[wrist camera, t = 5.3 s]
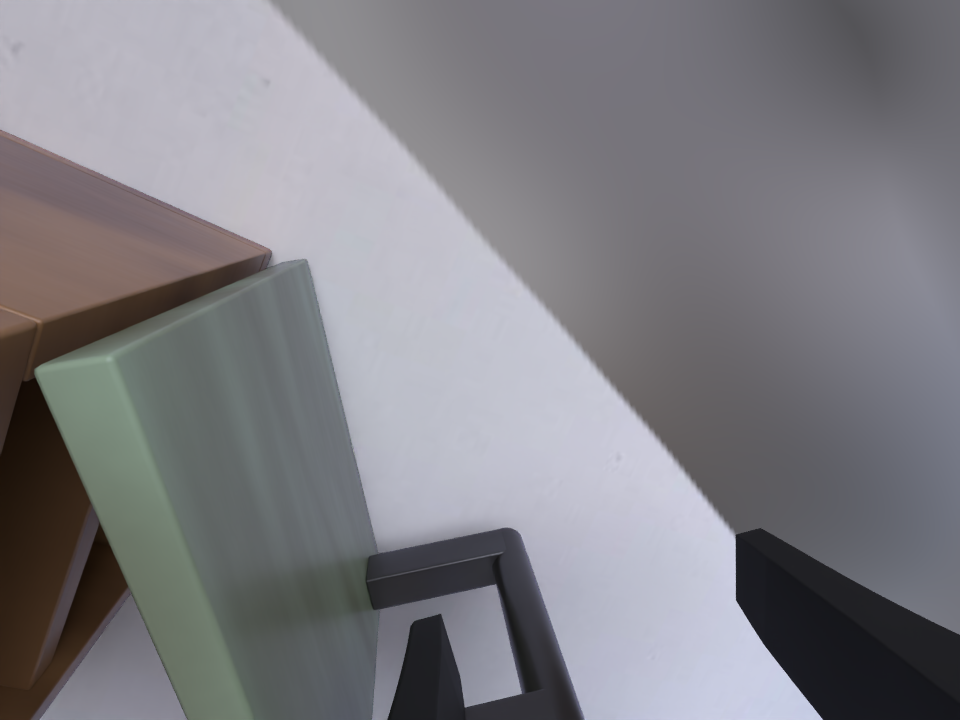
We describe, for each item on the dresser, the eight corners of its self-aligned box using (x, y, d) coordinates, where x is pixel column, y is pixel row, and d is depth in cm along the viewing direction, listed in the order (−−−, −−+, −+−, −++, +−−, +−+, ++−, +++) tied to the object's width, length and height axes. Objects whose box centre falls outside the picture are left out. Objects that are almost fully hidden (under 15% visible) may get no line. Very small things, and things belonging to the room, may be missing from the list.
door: (474, 233, 15) (595, 276, 5) (516, 543, 19) (633, 905, 9) (280, 262, 15) (27, 368, 5) (361, 576, 18) (307, 999, 8)
